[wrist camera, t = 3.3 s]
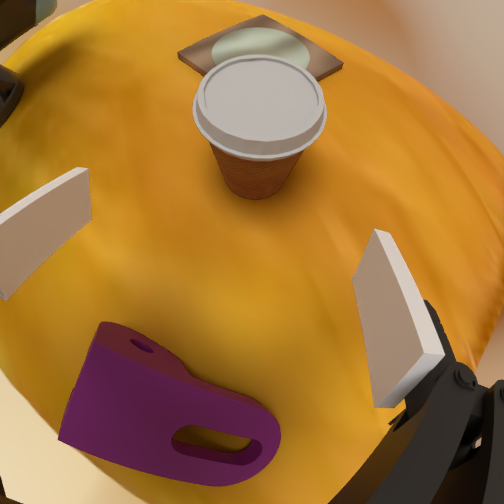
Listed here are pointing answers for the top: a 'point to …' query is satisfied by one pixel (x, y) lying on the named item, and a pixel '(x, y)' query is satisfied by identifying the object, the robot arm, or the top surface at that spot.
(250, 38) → the coaster
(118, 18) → the top surface
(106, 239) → the top surface
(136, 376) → the mounting bracket
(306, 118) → the disposable coffee cup
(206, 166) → the top surface
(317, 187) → the top surface
